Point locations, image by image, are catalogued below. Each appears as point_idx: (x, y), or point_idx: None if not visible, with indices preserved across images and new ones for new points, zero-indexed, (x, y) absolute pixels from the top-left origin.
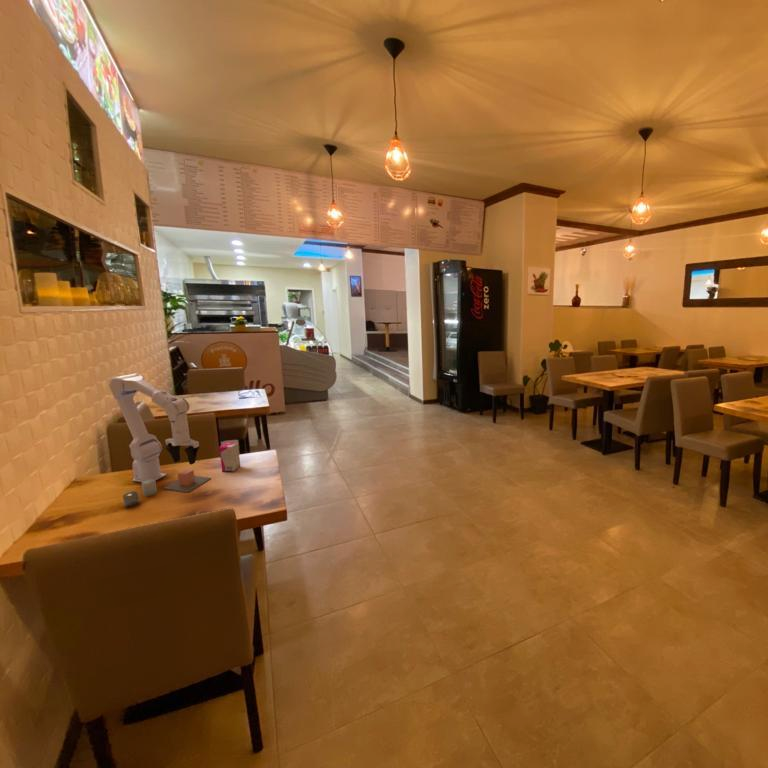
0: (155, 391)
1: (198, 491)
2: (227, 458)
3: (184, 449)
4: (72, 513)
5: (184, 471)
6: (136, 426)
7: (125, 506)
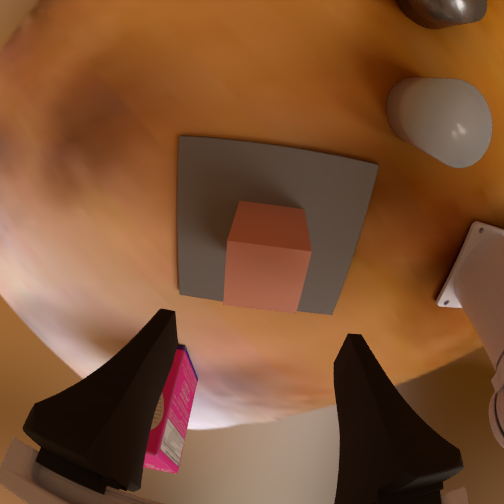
0: None
1: (137, 163)
2: None
3: (85, 455)
4: None
5: (274, 282)
6: None
7: None
